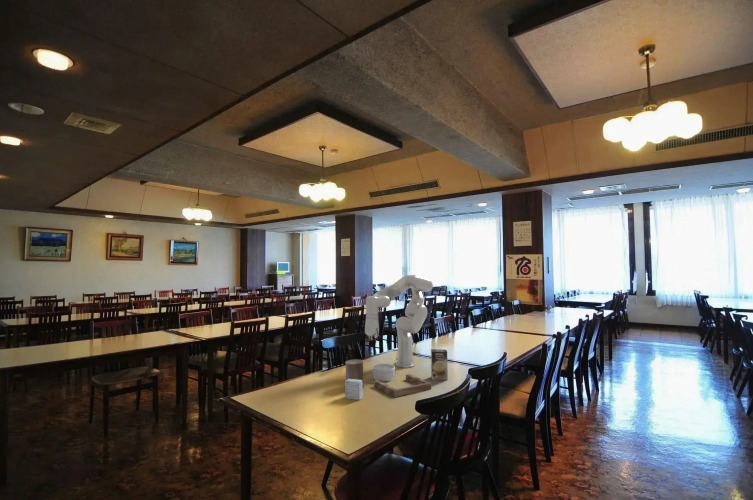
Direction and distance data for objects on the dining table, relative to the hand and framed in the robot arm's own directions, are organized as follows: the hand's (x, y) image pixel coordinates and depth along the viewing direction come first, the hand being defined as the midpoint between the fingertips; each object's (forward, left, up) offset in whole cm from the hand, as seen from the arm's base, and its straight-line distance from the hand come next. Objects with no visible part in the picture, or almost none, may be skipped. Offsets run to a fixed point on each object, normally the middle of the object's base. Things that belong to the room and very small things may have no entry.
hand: (372, 346), depth 219 cm
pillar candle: (+16, -21, -17) cm, 31 cm away
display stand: (+31, 0, -16) cm, 35 cm away
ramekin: (+12, 0, -17) cm, 21 cm away
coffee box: (+30, +27, -17) cm, 44 cm away
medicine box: (+31, -29, -17) cm, 45 cm away
